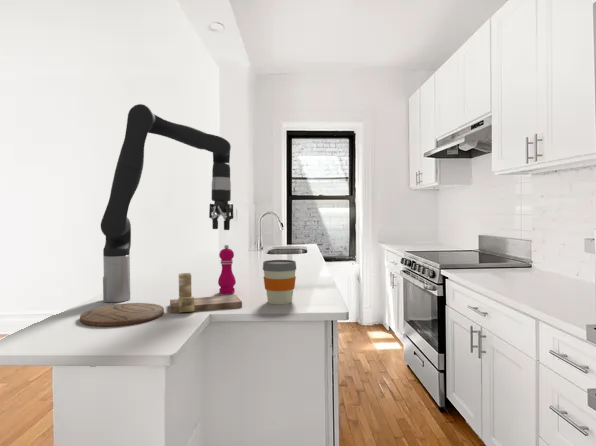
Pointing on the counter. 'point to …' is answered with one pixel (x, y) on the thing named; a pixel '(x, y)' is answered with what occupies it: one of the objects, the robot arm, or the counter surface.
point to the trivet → (121, 314)
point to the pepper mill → (226, 272)
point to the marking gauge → (185, 293)
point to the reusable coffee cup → (279, 280)
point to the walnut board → (210, 303)
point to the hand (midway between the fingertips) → (220, 229)
